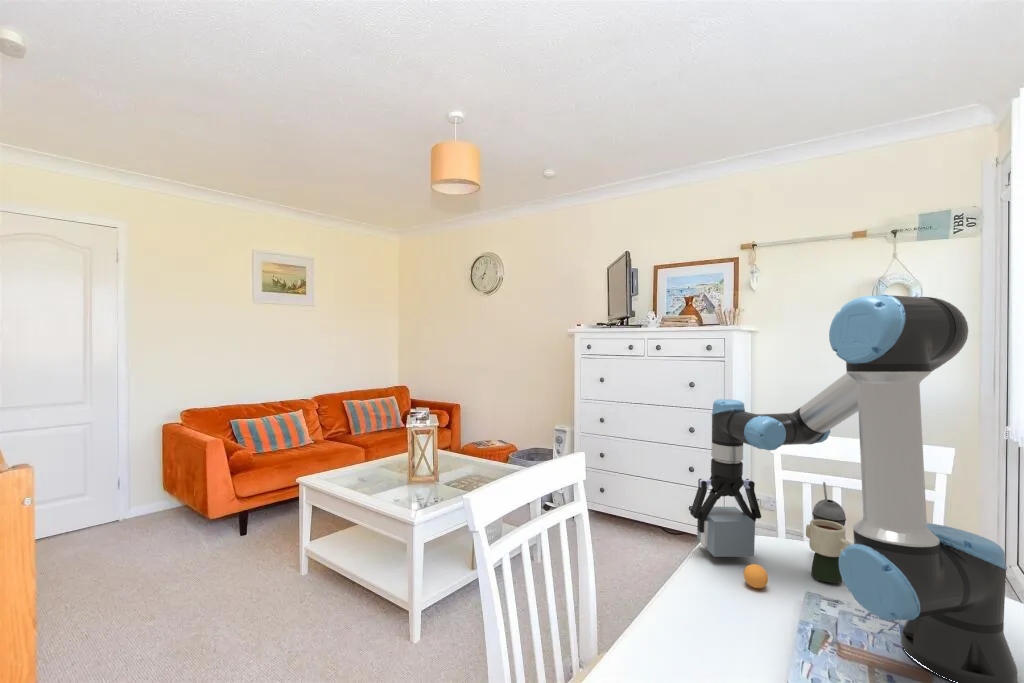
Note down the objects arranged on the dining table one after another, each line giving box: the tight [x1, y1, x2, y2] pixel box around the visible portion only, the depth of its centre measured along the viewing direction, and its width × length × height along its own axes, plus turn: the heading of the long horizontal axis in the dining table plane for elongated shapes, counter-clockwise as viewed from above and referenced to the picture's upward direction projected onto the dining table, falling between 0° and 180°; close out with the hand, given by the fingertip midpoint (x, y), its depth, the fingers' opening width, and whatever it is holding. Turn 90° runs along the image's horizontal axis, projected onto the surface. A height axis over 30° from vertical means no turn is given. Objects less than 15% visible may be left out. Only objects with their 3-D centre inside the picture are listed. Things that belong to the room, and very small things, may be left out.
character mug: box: [805, 519, 851, 583], centre depth 115 cm, size 11×7×13 cm, turn 19°
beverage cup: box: [812, 481, 847, 527], centre depth 124 cm, size 7×7×20 cm
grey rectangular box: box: [696, 506, 756, 558], centre depth 126 cm, size 10×10×9 cm
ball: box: [743, 563, 769, 589], centre depth 111 cm, size 5×5×5 cm
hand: (724, 544), depth 126 cm, fingers closed on grey rectangular box, 10 cm apart
